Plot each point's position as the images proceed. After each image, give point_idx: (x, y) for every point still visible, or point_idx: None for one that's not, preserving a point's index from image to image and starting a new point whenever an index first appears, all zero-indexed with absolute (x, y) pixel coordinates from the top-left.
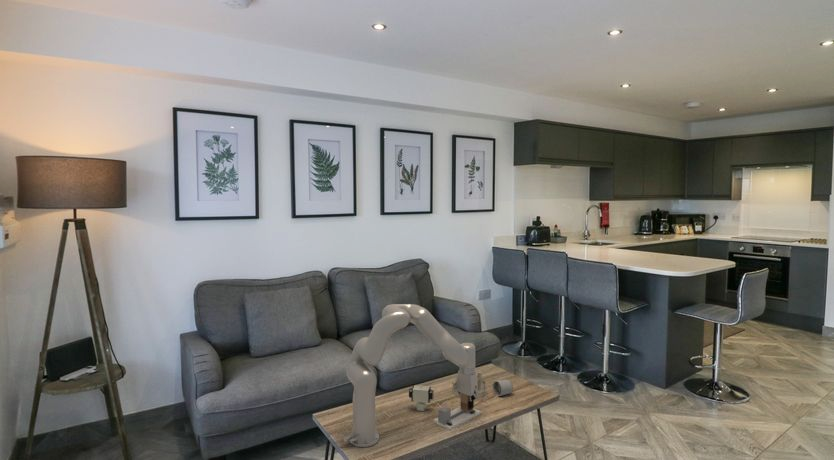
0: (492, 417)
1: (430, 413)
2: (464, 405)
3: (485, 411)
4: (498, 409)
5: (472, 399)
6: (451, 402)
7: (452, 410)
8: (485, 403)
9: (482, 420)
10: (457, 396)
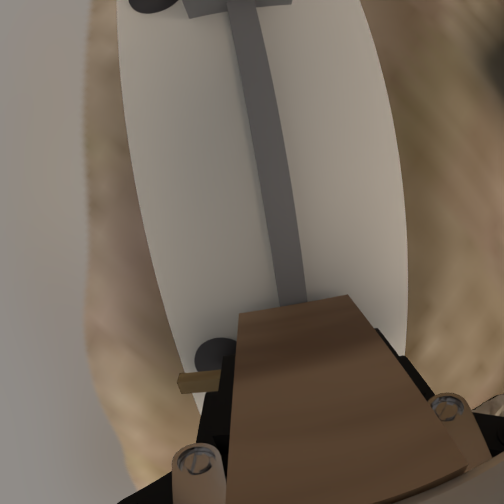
0: (116, 425)
1: (469, 48)
2: (288, 342)
3: None
4: None
5: (164, 486)
6: (496, 324)
7: (401, 211)
8: None
9: (100, 348)
10: (496, 397)
